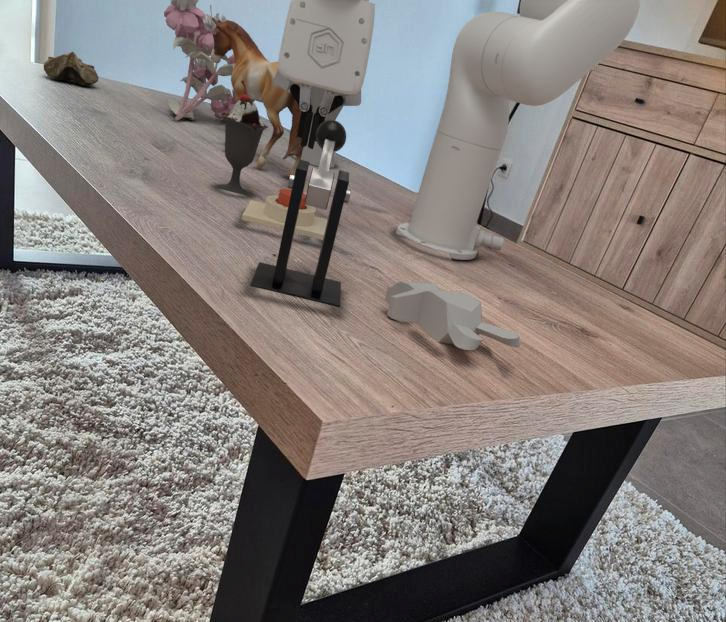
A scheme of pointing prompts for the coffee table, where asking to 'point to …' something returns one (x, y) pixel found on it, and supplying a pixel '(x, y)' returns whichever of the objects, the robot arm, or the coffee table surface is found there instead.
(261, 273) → the lever bracket
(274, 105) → the horse figurine
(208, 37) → the flower
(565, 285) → the coffee table surface
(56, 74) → the fossilized seashell
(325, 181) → the press lever
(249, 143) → the sundae
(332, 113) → the lava lamp
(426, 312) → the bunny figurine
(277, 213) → the button block
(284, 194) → the button
